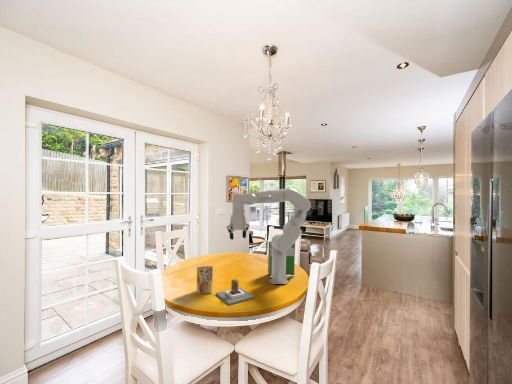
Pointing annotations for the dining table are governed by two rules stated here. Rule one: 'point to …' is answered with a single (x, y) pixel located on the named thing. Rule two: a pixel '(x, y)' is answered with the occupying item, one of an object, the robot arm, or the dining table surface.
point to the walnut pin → (234, 286)
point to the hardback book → (289, 260)
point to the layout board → (234, 296)
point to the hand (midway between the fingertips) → (238, 238)
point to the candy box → (204, 278)
